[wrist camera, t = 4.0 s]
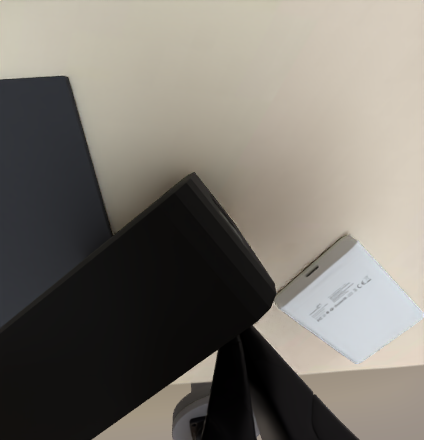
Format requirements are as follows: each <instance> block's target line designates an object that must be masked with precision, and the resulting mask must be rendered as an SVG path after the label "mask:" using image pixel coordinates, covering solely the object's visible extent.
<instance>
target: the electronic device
mask: <svg viewBox="0 0 424 440" xmlns="http://www.w3.org/2000/svg"><path fill="white" fill-rule="evenodd" d="M275 296H276V289H275V283H274V282H273V280H272V279H271V277H270V276H269V274H268V273H267V271H266V270H265V268H264V267H263V265H262V264H261V262H260V261H259V259H258V258H257V256H256V255H255V253H254V252H253V250H252V249H251V247H250V246H249V244H248V243H247V241H246V240H245V238H244V237H243V235H242V234H241V232H240V231H239V229H238V228H237V226H236V225H235V223H234V222H233V221H232V219H231V218H230V217H229V215H228V214H227V213H226V212H225V210H224V209H223V208H222V207H221V205H220V204H219V203H218V201H217V200H216V199H215V198H214V196H213V195H212V194H211V193H210V191H209V190H208V189H207V187H206V186H205V185H204V184H203V182H202V181H201V180H200V179H199V177H198V176H197V175H196V173H195V172H193V173H191V174H189V175H187V176H186V177H185V178H184V179H183V180H181V181H180V182H179V183H178V184H176V185H175V186H174V187H173V188H171V189H170V190H169V191H168V192H166V193H165V194H164V195H163V196H162V197H160V198H159V199H158V200H157V201H155V202H154V203H153V204H152V205H150V206H149V207H148V208H147V209H146V210H144V211H143V212H142V213H141V214H139V215H138V216H137V217H136V218H134V219H133V220H132V221H131V222H130V223H128V224H127V225H126V226H125V227H123V228H122V229H121V230H120V231H118V232H117V233H116V234H115V235H114V236H112V237H111V238H110V239H109V240H107V241H106V242H105V243H104V244H102V245H101V246H100V247H99V248H98V249H96V250H95V251H94V252H93V253H91V254H90V255H89V256H88V257H86V258H85V259H84V260H83V261H82V262H80V263H79V264H78V265H77V266H75V267H74V268H73V269H72V270H70V271H69V272H68V273H67V274H66V275H64V276H63V277H62V278H61V279H59V280H58V281H57V282H56V283H55V284H53V285H52V286H51V287H50V288H48V289H47V290H46V291H45V292H44V293H42V294H41V295H40V296H39V297H37V298H36V299H35V300H34V301H32V302H31V303H30V304H29V305H28V306H26V307H25V308H24V309H23V310H21V311H20V312H19V313H18V314H17V315H15V316H14V317H13V318H12V319H10V320H9V321H8V322H7V323H6V324H4V325H3V326H2V327H1V328H0V440H92V439H93V438H95V437H96V436H97V435H99V434H100V433H101V432H103V431H104V430H106V429H107V428H108V427H110V426H111V425H113V424H114V423H116V422H117V421H118V420H120V419H121V418H122V417H124V416H125V415H127V414H128V413H130V412H131V411H132V410H134V409H135V408H137V407H138V406H139V405H141V404H142V403H144V402H145V401H146V400H147V399H149V398H151V397H152V396H153V395H155V394H156V393H158V392H159V391H160V390H162V389H163V388H165V387H166V386H168V385H169V384H170V383H172V382H173V381H175V380H176V379H177V378H179V377H180V376H182V375H183V374H184V373H186V372H187V371H189V370H190V369H191V368H193V367H194V366H196V365H197V364H198V363H200V362H201V361H203V360H204V359H205V358H207V357H208V356H210V355H211V354H212V353H214V352H215V351H217V350H218V349H219V348H221V347H222V346H224V345H225V344H227V343H228V342H229V341H231V340H232V339H234V338H235V337H236V336H238V335H239V334H241V333H242V332H243V331H245V330H246V329H248V328H249V327H250V326H252V325H253V324H255V323H256V322H257V321H258V320H259V319H260V318H261V317H262V316H263V315H264V314H265V313H266V312H267V311H268V310H269V309H270V308H271V306H272V303H273V301H274V299H275Z"/></svg>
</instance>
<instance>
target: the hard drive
mask: <svg viewBox="0 0 424 440" xmlns="http://www.w3.org/2000/svg"><path fill="white" fill-rule="evenodd" d="M274 301H275V303H276V305H277V306H278V308H279V309H280V310H281V311H283V312H284V313H285V314H287V315H288V316H290V317H291V318H292V319H294V320H295V321H296V322H298V323H299V324H300V325H302V326H303V327H305V328H306V329H307V330H309V331H310V332H311V333H313V334H314V335H316V336H317V337H318V338H320V339H321V340H323V341H324V342H325V343H327V344H328V345H329V346H331V347H332V348H334V349H335V350H336V351H338V352H339V353H341V354H342V355H343V356H345V357H346V358H348V359H349V360H350V361H352V362H353V363H355V364H359V363H361V362H363V361H364V360H366V359H367V358H368V357H370V356H371V355H373V354H374V353H375V352H377V351H378V350H380V349H381V348H382V347H384V346H385V345H387V344H388V343H390V342H391V341H392V340H394V339H395V338H397V337H398V336H399V335H401V334H402V333H404V332H405V331H407V330H408V329H409V328H411V327H412V326H414V325H415V324H416V323H418V322H419V321H420V320H422V319H423V317H424V312H423V311H422V310H421V309H420V308H419V307H418V306H417V305H416V304H415V303H414V302H413V300H412V299H411V298H410V297H409V296H408V295H407V294H406V293H405V292H404V291H403V289H402V288H401V287H400V286H399V285H398V284H397V283H396V282H395V281H394V280H393V279H392V277H391V276H390V275H389V274H388V273H387V272H386V271H385V270H384V269H383V268H382V266H381V265H380V264H379V263H378V262H377V261H376V260H375V259H374V258H373V257H372V256H371V254H370V253H369V252H368V251H367V250H366V249H365V248H364V247H363V246H362V245H361V244H360V242H359V241H358V240H356V239H354V238H353V237H352V236H350V235H349V234H348V235H346V236H344V237H342V238H341V239H340V240H339V241H337V242H336V243H335V244H334V245H333V246H332V247H331V248H329V249H328V250H327V251H326V252H325V253H324V254H322V255H321V256H320V257H319V258H318V259H317V260H316V261H315V262H313V263H312V264H311V265H310V266H309V267H308V268H306V269H305V270H304V271H303V272H302V273H301V274H300V275H299V276H297V277H296V278H295V279H294V280H293V281H292V282H291V283H289V284H288V285H287V286H286V287H285V288H284V289H283V290H282V291H280V292H279V293H278V294H277V295H276V297H275V299H274Z"/></svg>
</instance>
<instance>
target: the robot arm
mask: <svg viewBox="0 0 424 440" xmlns="http://www.w3.org/2000/svg"><path fill="white" fill-rule="evenodd" d="M252 409H253V410H252ZM253 413H254V416H255V419H256V422H257V425H258V429H259V432H260V435H261V438H262V440H359V439H358V438H357V437H356V436H355V435H354V434H353V433H352V432H351V431H350V430H349V429H348V428H347V427H346V426H345V425H344V424H343V423H342V422H341V421H340V420H339V419H338V418H337V417H336V416H335V415H334V414H333V413H332V412H331V411H330V410H329V409H328V408H327V407H326V406H325V405H324V404H323V402H322V401H321V400H320V399H319V398H318V397H317V396H316V395H315V394H314V395H313V391H312V390H311V389H310V388H309V387H308V386H307V385H306V384H305V383H304V382H303V380H302V379H301V378H300V377H299V376H298V375H297V374H296V373H295V372H294V370H293V369H292V368H291V367H290V366H289V365H288V364H287V363H286V362H285V361H284V359H283V358H282V357H281V356H280V355H279V354H278V353H277V352H276V351H275V350H274V348H273V347H272V346H271V345H270V344H269V343H268V342H267V341H266V340H265V338H264V337H263V336H262V335H261V334H260V333H259V332H258V331H257V330H256V329H255V327H254V326H253V325H252V326H250V327H249V328H248V329H246V330H245V331H243V332H242V333H241V334H239V335H238V336H236V337H235V338H234V339H232V340H231V341H229V342H228V343H227V344H225V345H224V346H222V347H221V348H219V349H218V353H217V359H216V364H215V369H214V375H213V380H212V386H211V391H210V396H209V402H208V407H207V415H206V416H201V417H196V418H192V419H190V421H189V426H190V431H191V436H192V440H257V438H256V431H255V424H254V417H253Z"/></svg>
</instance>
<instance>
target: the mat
mask: <svg viewBox="0 0 424 440" xmlns="http://www.w3.org/2000/svg"><path fill="white" fill-rule="evenodd" d="M111 237H112V233H111V229H110V225H109V222H108V218H107V215H106V211H105V208H104V204H103V200H102V197H101V193H100V190H99V186H98V183H97V179H96V176H95V172H94V168H93V165H92V161H91V158H90V154H89V151H88V147H87V144H86V140H85V136H84V133H83V129H82V126H81V122H80V119H79V115H78V111H77V108H76V104H75V101H74V97H73V94H72V90H71V87H70V83H69V79H68V77H66V76H53V77H36V78H19V79H3V80H0V328H1V327H2V326H3V325H4V324H6V323H7V322H8V321H9V320H10V319H12V318H13V317H14V316H15V315H17V314H18V313H19V312H20V311H21V310H23V309H24V308H25V307H26V306H28V305H29V304H30V303H31V302H32V301H34V300H35V299H36V298H37V297H39V296H40V295H41V294H42V293H44V292H45V291H46V290H47V289H48V288H50V287H51V286H52V285H53V284H55V283H56V282H57V281H58V280H59V279H61V278H62V277H63V276H64V275H66V274H67V273H68V272H69V271H70V270H72V269H73V268H74V267H75V266H77V265H78V264H79V263H80V262H82V261H83V260H84V259H85V258H86V257H88V256H89V255H90V254H91V253H93V252H94V251H95V250H96V249H98V248H99V247H100V246H101V245H102V244H104V243H105V242H106V241H107V240H109V239H110V238H111Z"/></svg>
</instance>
